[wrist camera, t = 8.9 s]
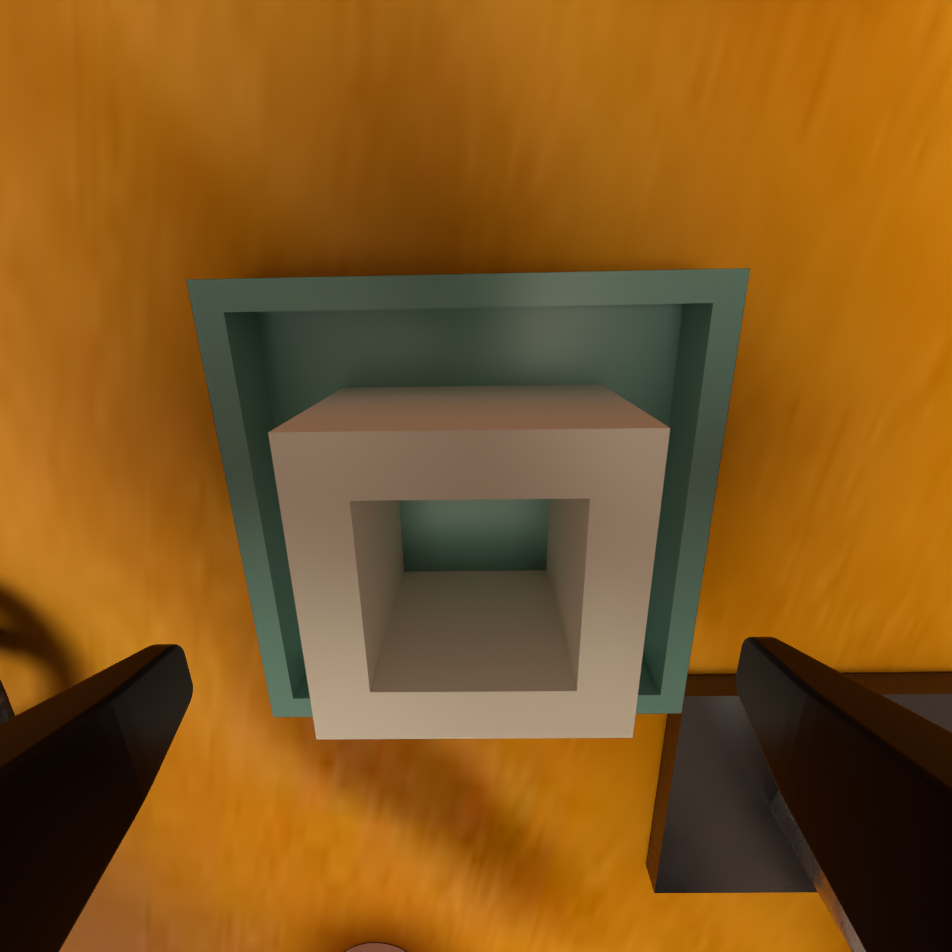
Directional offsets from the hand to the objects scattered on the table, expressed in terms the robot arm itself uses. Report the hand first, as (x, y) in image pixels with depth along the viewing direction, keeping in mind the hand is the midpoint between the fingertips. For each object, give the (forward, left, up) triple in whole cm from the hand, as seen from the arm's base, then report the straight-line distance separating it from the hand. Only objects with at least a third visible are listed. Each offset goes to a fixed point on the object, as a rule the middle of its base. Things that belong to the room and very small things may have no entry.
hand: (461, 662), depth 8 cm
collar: (0, 0, -7) cm, 7 cm away
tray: (0, 0, -8) cm, 8 cm away
